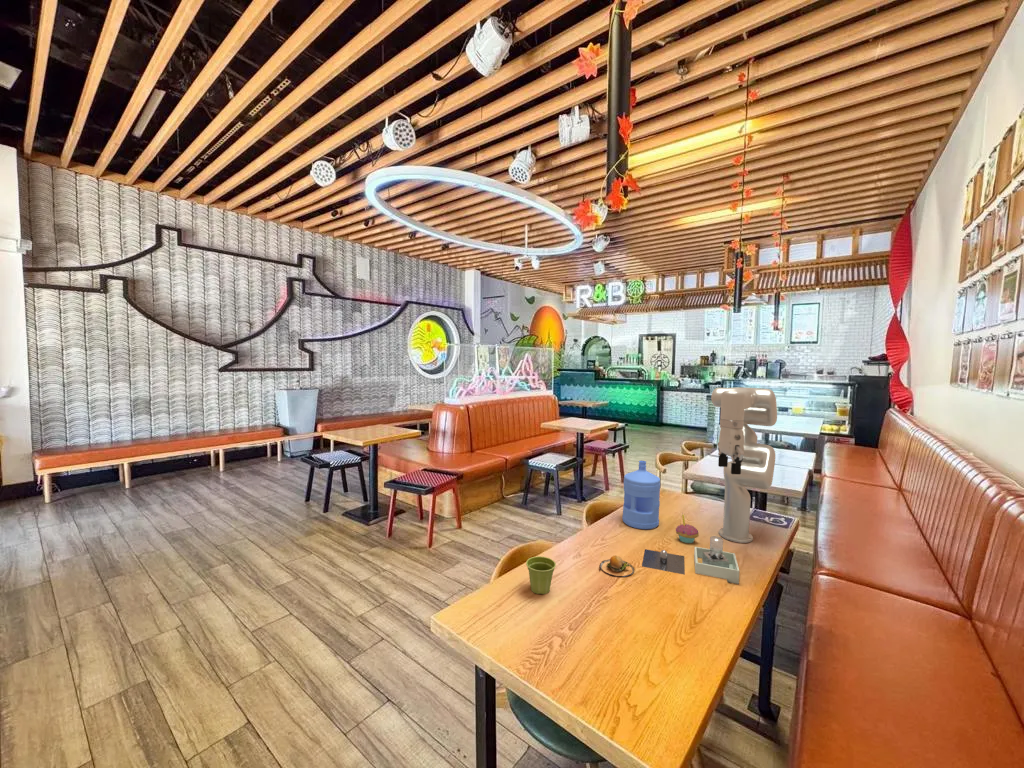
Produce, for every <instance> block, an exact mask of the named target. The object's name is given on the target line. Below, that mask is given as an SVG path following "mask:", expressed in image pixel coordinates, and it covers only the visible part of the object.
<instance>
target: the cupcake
mask: <svg viewBox="0 0 1024 768" xmlns="http://www.w3.org/2000/svg"><path fill="white" fill-rule="evenodd" d="M684 515H685V514H683V512H681V517H682V524H680V525H678V526H676V528H675V533H676V534H677V536H678V539H679V541H680V542H683V543H685V544H694V541H695V539H697V538H698V537H699V535H700V533H699V530H698V529H697V528H696V527H695V526H694V525H692V524H686V521H685V516H684Z"/></svg>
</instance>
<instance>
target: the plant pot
mask: <svg viewBox="0 0 1024 768" xmlns="http://www.w3.org/2000/svg"><path fill="white" fill-rule="evenodd" d="M525 562H526V563H525V564H526V567H527V570H528V575H529V585H530V590H531V592H533V593H534V594H537V595H540V594H541V595H546V594H548V593H549V592H550V590H551V585H552V579H553V574H554V571H555V569H556V566H557V564H556V562H555V561H554V560H553V559H552V558H550V557H546V556H538V555H537V556H533V557H530V558H528V559H527V560H526V561H525Z"/></svg>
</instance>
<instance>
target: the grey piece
mask: <svg viewBox="0 0 1024 768" xmlns="http://www.w3.org/2000/svg"><path fill="white" fill-rule="evenodd" d="M709 549H710V552H703V557H702V558H701V560H702V562H701V563H703V564H708V565H714V566H719V567H725V568H729V563H730V561H729V560H728V559H727V558H726V557H725V556H724V555H723V554H722V553H723V551H724V550H723V549H724V538H723V537H721V536H717V535H711V536H710V541H709Z"/></svg>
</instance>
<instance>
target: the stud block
mask: <svg viewBox="0 0 1024 768" xmlns="http://www.w3.org/2000/svg"><path fill="white" fill-rule="evenodd" d="M643 552H644V553H643V558H642V563H641V567H643V568H647V569H654V570H659V571H664V572H670V573H674V574H679V575H683V576H684V575H685V574H686V573H685V571H686V570H685V569H686V567H685V565H686V564H685V555H679V554H674V553H669V552H668V551H666V550H665V549H662V550H661V551H656V550H651V549H648V548H647V549H646V548H644V551H643Z"/></svg>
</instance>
